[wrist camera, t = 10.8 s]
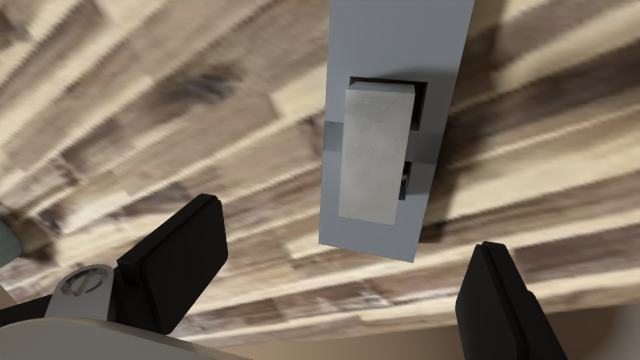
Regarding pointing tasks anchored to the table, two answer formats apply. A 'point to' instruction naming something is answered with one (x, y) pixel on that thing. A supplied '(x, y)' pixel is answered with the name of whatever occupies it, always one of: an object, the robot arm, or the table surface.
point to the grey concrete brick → (374, 149)
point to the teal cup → (8, 245)
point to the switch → (425, 134)
